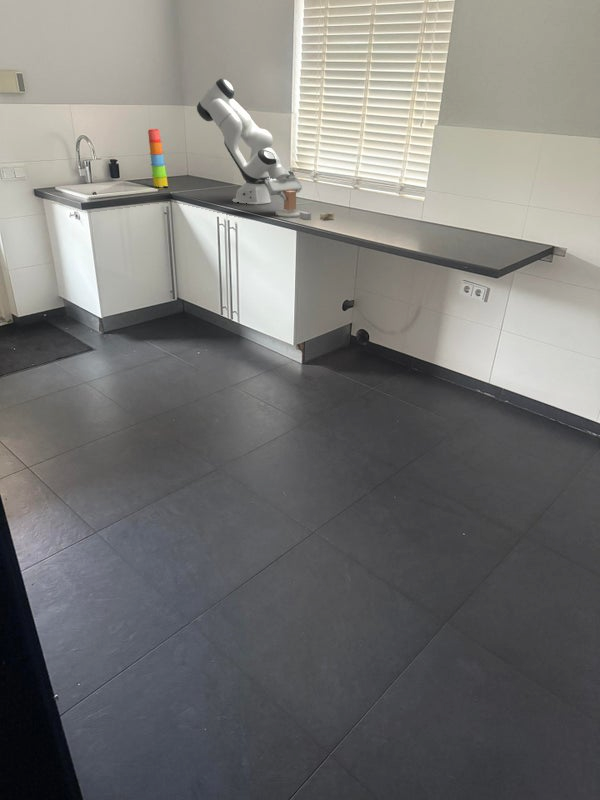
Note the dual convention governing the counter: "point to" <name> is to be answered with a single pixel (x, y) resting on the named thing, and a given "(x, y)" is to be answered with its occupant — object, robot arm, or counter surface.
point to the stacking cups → (157, 158)
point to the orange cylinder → (290, 200)
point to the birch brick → (326, 216)
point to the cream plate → (288, 213)
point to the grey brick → (305, 215)
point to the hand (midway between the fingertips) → (290, 199)
